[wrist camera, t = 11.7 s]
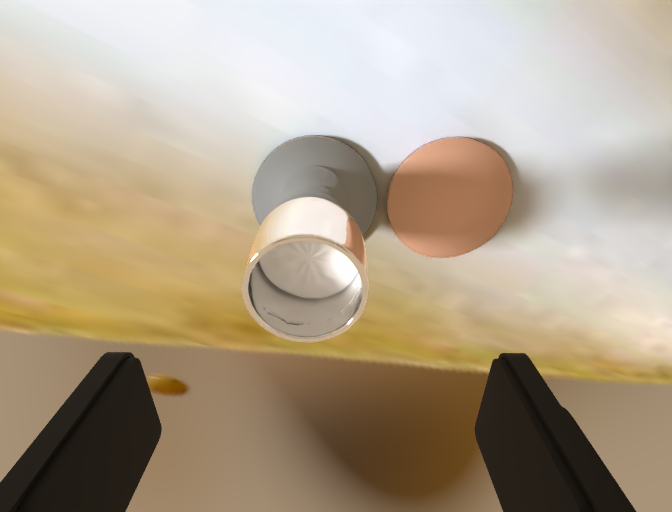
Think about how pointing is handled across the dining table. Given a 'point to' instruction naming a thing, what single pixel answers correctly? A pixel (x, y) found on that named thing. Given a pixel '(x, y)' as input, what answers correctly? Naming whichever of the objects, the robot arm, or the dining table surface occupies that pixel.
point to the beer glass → (308, 261)
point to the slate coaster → (315, 154)
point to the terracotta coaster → (449, 197)
